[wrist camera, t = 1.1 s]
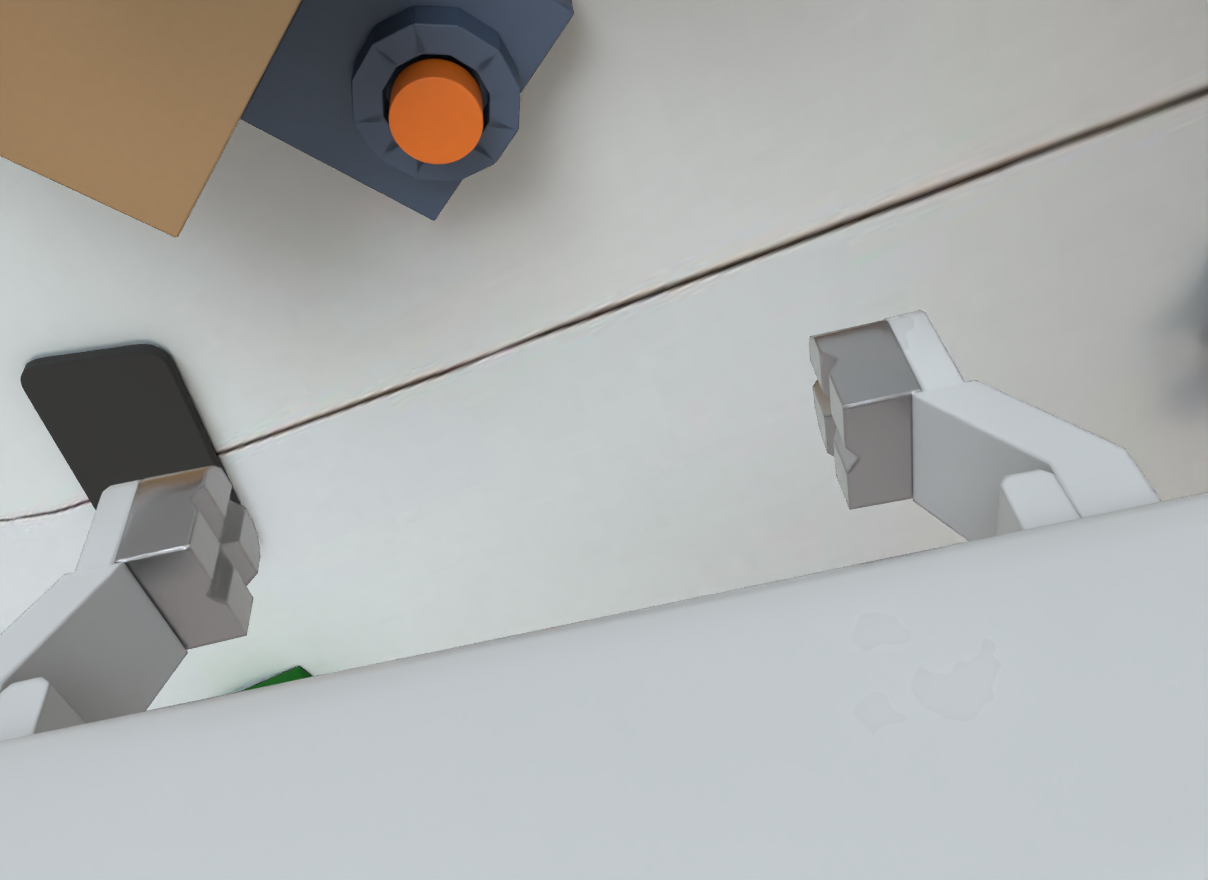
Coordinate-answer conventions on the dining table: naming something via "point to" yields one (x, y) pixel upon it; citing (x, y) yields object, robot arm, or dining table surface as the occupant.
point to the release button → (436, 111)
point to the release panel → (369, 69)
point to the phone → (118, 415)
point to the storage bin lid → (131, 93)
